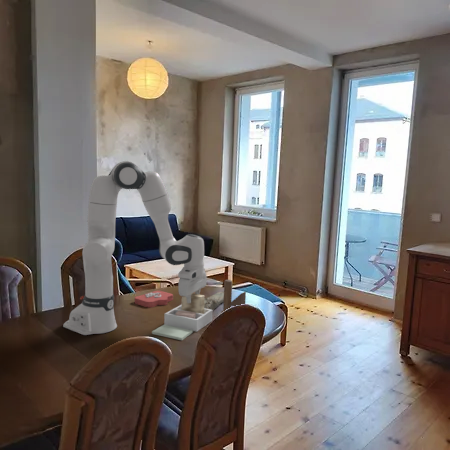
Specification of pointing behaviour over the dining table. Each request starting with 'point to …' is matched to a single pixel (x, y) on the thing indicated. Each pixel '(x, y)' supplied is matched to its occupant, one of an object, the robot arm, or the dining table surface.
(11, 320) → the dining table surface
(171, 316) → the white open box
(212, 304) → the elongated rock
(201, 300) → the birch board
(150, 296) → the plaque
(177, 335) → the sage pad
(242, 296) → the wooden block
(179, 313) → the upper offcut
